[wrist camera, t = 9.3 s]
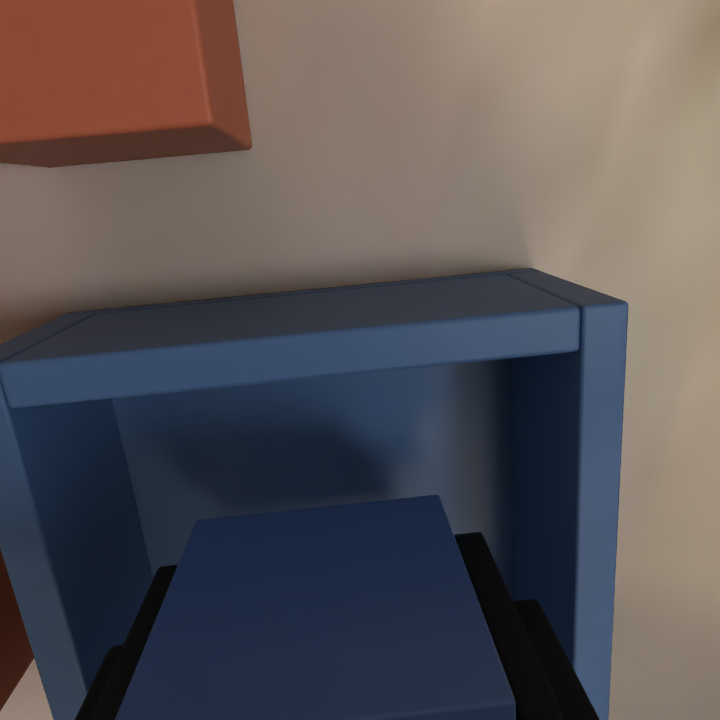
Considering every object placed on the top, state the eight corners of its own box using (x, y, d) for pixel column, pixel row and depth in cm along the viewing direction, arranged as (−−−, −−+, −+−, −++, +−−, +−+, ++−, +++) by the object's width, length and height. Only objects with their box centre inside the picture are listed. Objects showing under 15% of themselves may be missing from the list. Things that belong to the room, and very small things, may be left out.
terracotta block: (47, 167, 12) (-103, 153, 8) (-9, -74, 11) (-223, -246, 7) (253, 149, 12) (214, 125, 8) (221, -92, 11) (155, -270, 7)
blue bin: (157, 686, 16) (96, 861, 12) (67, 312, 13) (-59, 369, 9) (533, 643, 17) (605, 798, 12) (533, 267, 14) (630, 301, 9)
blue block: (232, 711, 12) (175, 1016, 7) (195, 519, 10) (100, 751, 6) (449, 685, 12) (521, 971, 7) (439, 492, 10) (517, 702, 6)
